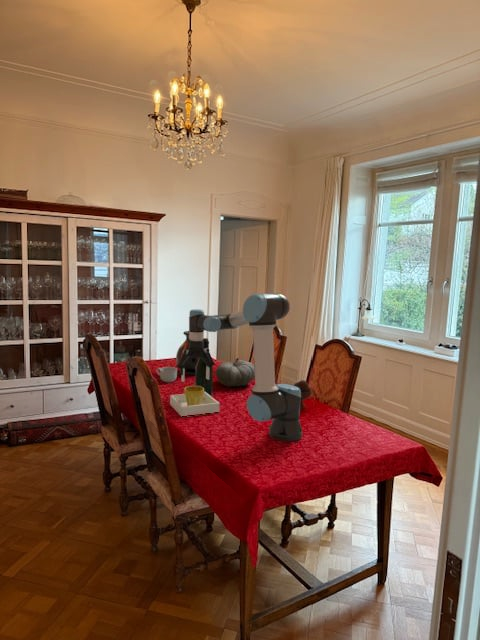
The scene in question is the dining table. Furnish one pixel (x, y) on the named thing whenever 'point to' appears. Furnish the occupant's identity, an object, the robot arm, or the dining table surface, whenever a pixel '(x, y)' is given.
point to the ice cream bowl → (303, 391)
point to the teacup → (167, 373)
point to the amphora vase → (191, 365)
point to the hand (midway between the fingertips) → (195, 380)
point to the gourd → (235, 373)
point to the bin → (206, 405)
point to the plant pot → (193, 395)
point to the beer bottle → (204, 372)
